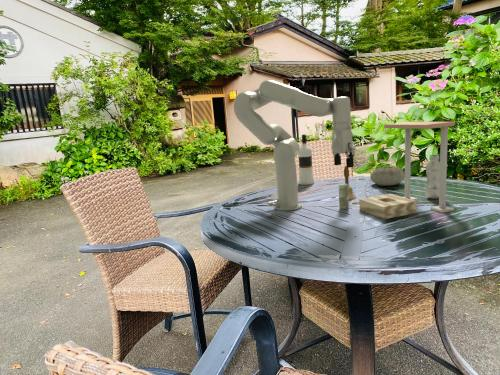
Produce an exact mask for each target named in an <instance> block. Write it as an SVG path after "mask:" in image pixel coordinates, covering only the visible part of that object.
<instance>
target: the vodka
mask: <svg viewBox="0 0 500 375" xmlns="http://www.w3.org/2000/svg"><path fill="white" fill-rule="evenodd" d="M307 142H308V141H307V134H302V135H301V146H299V147H300V150H299V153H298V155H297V156H298V173H299V174H298V175H299V177H298V184H299V185H300V186H311V185H313V184H315V179H314V172H313V171H314V170H313V157H312V156H313V150H312V148H311V147H310V146H308V144H307Z"/></svg>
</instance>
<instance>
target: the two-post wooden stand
mask: <svg viewBox="0 0 500 375" xmlns="http://www.w3.org/2000/svg"><path fill="white" fill-rule="evenodd" d="M455 125H456V121H405V122H403V121H402V122H396V123H387V124H386V123H385V124H383V128H384V129H404V174H405V178H404V196H403V197H404V198H407V199H411V200H415V201H418V197H413V196H411V178H412V177H411V176H412V175H411V164H412V163H411V162H412V161H411V159H412V158H411V157H412V156H411V155H412V154H411V153H412V151H411V150H412V145H411V144H412V140H411V139H412V129H415V130H416V129H417V130H418V129H420V130H423V129H424V130H428V129H437V128H440V150H439V151H440V154H439V162H440V185H439V198H438V205H435V206H430V210H431V211H435V212H439V213H449V212H453V211H455V207H452V206H448V205H446V203H447V201H446V200H447V170H448V166H447V165H448V140H449V139H448V135H449V134H448V132H449V130H448V129H449V127H453V126H454V127H455Z"/></svg>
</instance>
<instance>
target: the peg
mask: <svg viewBox="0 0 500 375" xmlns="http://www.w3.org/2000/svg"><path fill="white" fill-rule="evenodd" d="M338 203H339V206H338V207H339V210H342V211H344V210H346V211H347V210H348V209H349V206H350V205H349V200H348V184H345V183H339V184H338Z"/></svg>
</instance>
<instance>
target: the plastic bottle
mask: <svg viewBox="0 0 500 375" xmlns="http://www.w3.org/2000/svg"><path fill="white" fill-rule="evenodd" d="M428 159H429V161H428V162H427V164H426V165H425V170H426V189H425V192H424V193H425V196H426V197H427V199H431V200H434V199H439V185H440V154H430V155H429V158H428Z"/></svg>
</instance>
